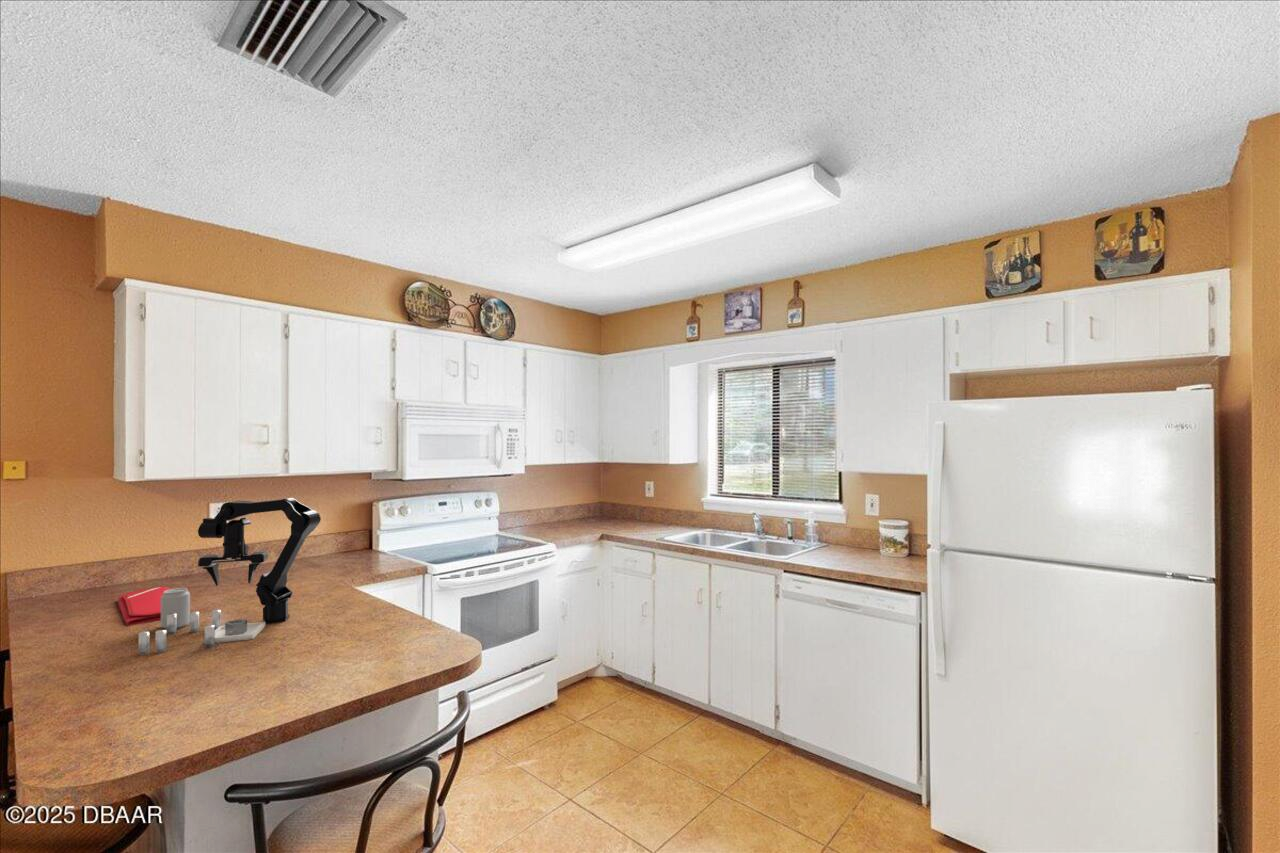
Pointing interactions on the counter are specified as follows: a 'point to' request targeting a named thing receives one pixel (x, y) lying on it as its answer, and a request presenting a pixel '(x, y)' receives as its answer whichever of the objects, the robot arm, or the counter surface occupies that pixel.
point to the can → (175, 606)
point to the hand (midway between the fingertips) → (233, 584)
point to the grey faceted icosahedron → (236, 627)
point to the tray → (249, 634)
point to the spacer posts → (172, 629)
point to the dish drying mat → (141, 605)
